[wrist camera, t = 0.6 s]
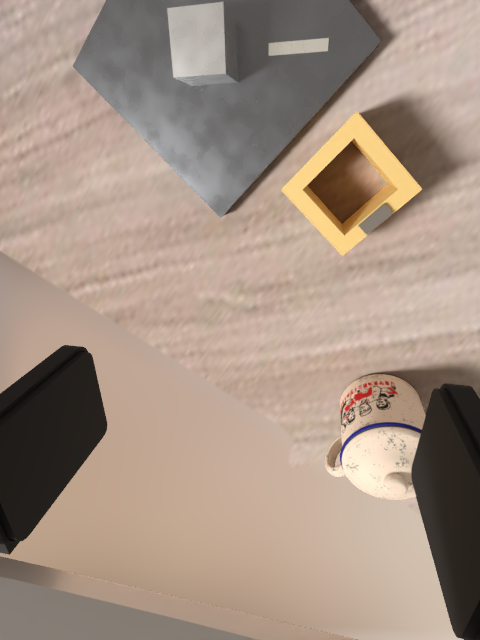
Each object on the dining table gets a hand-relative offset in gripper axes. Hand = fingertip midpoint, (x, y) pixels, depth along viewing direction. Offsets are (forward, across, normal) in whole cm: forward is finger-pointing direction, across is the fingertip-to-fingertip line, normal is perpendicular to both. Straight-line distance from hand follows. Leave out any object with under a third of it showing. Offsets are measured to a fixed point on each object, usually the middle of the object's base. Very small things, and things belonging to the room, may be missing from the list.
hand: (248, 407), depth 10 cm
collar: (+27, -4, -4) cm, 28 cm away
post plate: (+28, +8, -13) cm, 32 cm away
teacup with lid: (+28, -9, +21) cm, 36 cm away
